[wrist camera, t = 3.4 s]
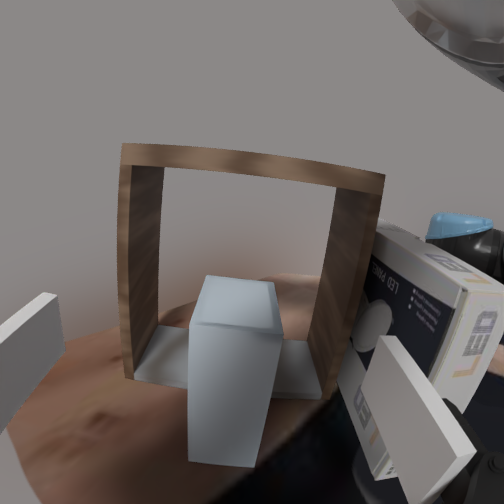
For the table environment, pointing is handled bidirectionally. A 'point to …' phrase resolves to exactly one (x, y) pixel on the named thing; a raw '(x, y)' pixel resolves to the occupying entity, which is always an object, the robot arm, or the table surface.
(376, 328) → the packaging
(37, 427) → the table surface
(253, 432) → the tall grey lidded box
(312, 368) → the walnut shelf
